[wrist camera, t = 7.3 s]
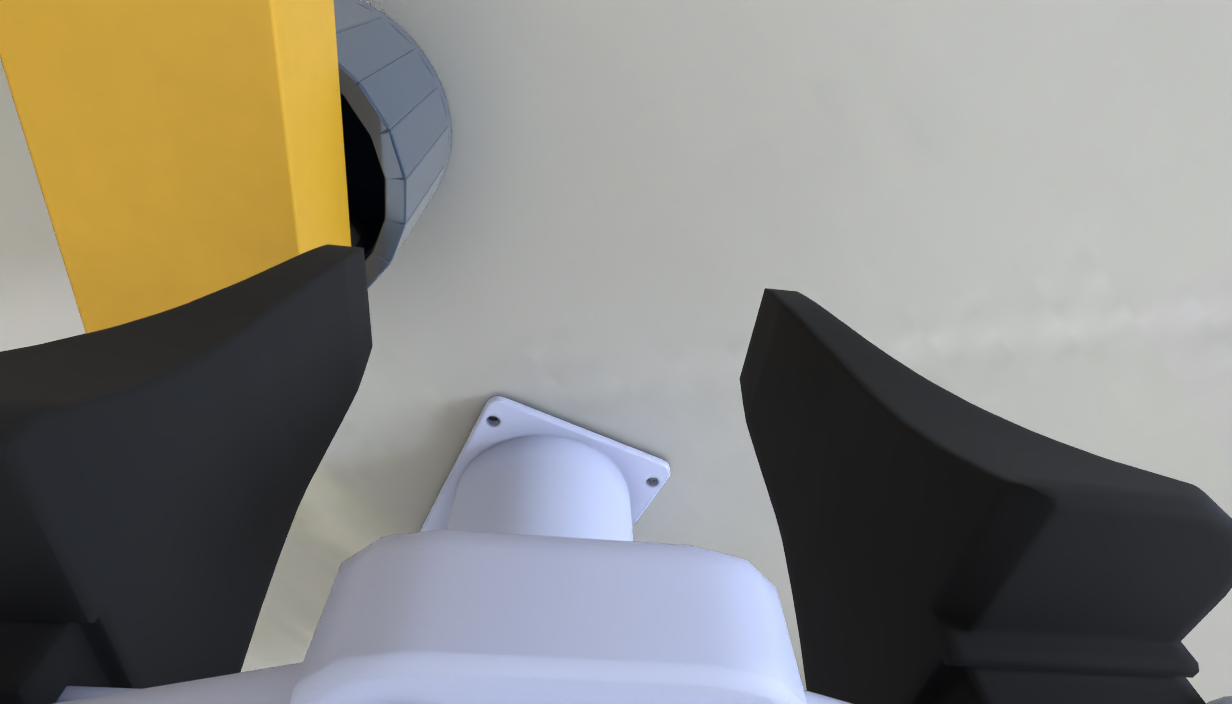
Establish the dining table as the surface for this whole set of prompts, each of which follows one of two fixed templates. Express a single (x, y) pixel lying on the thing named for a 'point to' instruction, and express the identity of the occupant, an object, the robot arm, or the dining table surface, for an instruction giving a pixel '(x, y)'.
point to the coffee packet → (178, 141)
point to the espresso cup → (387, 130)
